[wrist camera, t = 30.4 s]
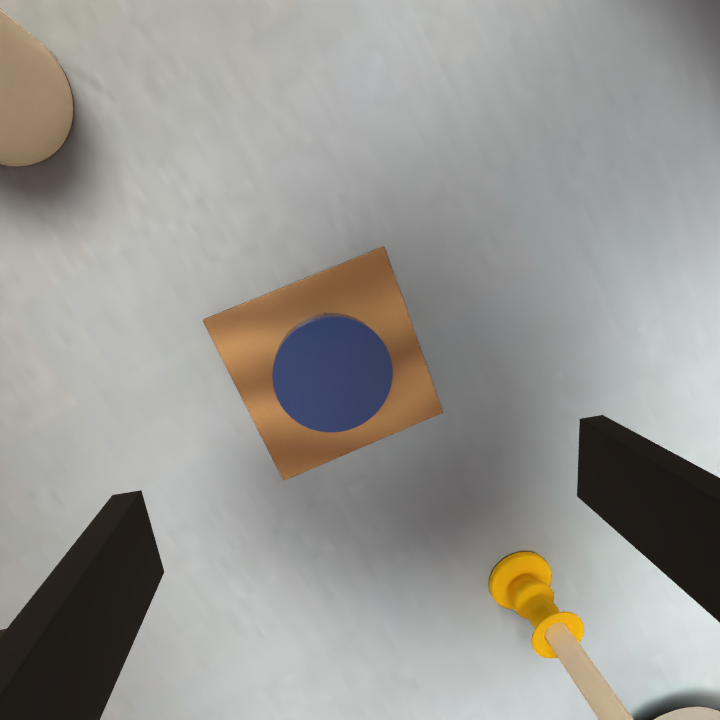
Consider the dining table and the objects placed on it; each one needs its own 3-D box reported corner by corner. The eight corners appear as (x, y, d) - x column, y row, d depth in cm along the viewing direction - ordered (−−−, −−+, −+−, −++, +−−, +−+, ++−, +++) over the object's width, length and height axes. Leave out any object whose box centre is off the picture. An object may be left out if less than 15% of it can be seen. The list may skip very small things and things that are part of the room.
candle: (560, 568, 34) (764, 810, 19) (520, 614, 35) (687, 883, 20) (517, 540, 33) (699, 776, 18) (475, 588, 33) (619, 855, 18)
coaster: (203, 319, 25) (202, 320, 25) (382, 246, 26) (384, 246, 25) (283, 477, 29) (283, 481, 28) (441, 410, 29) (443, 412, 29)
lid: (265, 318, 25) (263, 322, 24) (382, 305, 26) (388, 308, 25) (282, 429, 27) (281, 440, 26) (390, 413, 28) (397, 423, 26)
